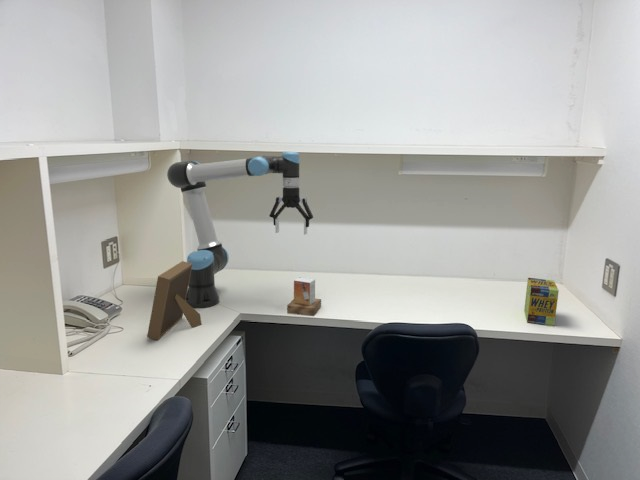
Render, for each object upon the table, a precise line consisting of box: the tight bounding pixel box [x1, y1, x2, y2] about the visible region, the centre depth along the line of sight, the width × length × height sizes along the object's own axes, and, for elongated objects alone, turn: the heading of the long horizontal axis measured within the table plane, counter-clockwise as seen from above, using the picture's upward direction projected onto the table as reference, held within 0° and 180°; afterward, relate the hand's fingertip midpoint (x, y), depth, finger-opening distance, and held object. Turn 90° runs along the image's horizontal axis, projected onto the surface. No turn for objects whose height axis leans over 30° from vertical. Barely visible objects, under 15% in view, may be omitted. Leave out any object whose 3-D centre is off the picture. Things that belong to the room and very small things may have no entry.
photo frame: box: [146, 260, 202, 341], centre depth 176 cm, size 15×22×25 cm
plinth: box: [287, 298, 322, 317], centre depth 201 cm, size 12×12×4 cm
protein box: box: [523, 277, 559, 327], centre depth 192 cm, size 10×15×16 cm
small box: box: [293, 277, 316, 306], centre depth 198 cm, size 8×6×10 cm
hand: (291, 233), depth 208 cm, fingers open, 13 cm apart
